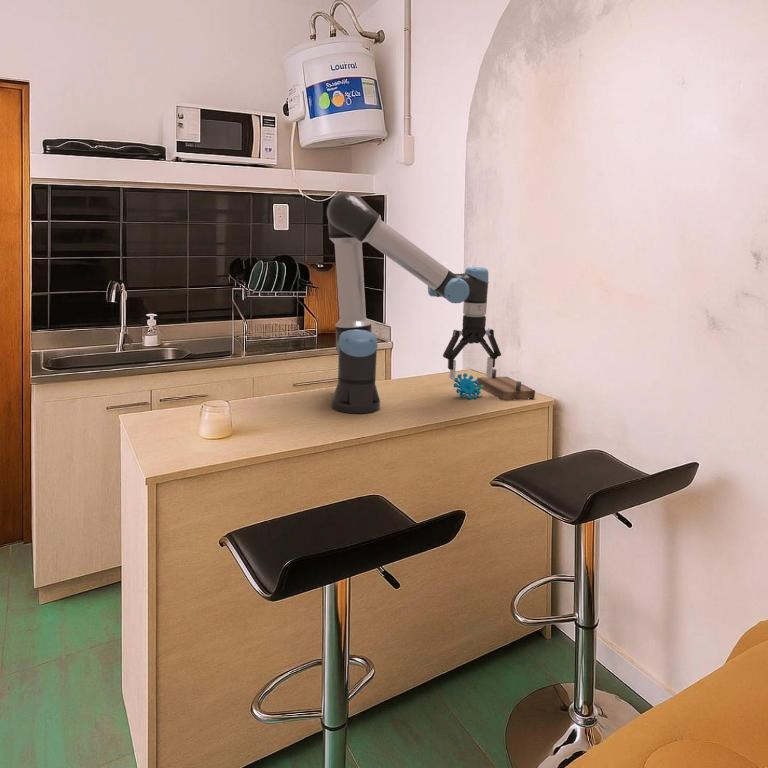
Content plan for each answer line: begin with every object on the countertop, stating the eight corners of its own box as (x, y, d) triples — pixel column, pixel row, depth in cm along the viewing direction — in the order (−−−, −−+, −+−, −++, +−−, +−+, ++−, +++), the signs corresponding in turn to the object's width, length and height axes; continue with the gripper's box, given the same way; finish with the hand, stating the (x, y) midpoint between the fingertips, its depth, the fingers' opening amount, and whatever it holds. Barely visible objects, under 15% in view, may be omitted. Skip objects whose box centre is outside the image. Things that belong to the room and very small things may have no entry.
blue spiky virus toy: (457, 396, 222) (453, 370, 227) (449, 404, 226) (445, 379, 232) (487, 399, 225) (482, 374, 231) (479, 407, 230) (474, 382, 235)
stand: (502, 400, 225) (504, 383, 224) (476, 385, 244) (477, 369, 242) (534, 399, 229) (536, 382, 228) (506, 384, 247) (507, 368, 246)
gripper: (444, 317, 213) (441, 382, 219) (513, 315, 221) (509, 378, 226) (435, 314, 220) (432, 377, 226) (503, 312, 228) (498, 373, 233)
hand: (470, 377), depth 226 cm, fingers open, 13 cm apart
